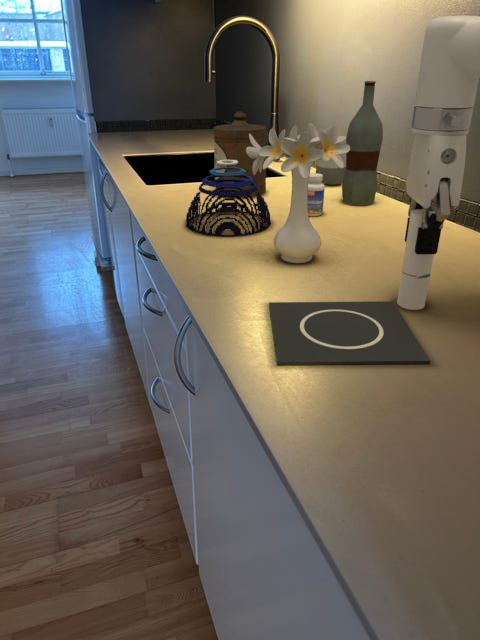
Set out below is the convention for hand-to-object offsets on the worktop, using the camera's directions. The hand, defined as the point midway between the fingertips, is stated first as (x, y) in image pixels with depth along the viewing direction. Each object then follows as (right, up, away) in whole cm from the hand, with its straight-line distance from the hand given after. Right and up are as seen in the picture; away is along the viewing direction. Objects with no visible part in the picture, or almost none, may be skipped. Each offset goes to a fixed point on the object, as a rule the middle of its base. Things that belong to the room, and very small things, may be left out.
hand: (420, 246), depth 78 cm
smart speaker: (0, +31, +81) cm, 87 cm away
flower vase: (-17, +1, +23) cm, 29 cm away
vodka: (+5, +21, +61) cm, 65 cm away
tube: (0, -9, +5) cm, 10 cm away
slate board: (-13, -13, -4) cm, 19 cm away
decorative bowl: (-30, +12, +44) cm, 55 cm away
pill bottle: (-9, +16, +52) cm, 55 cm away
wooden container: (-28, +26, +72) cm, 81 cm away
